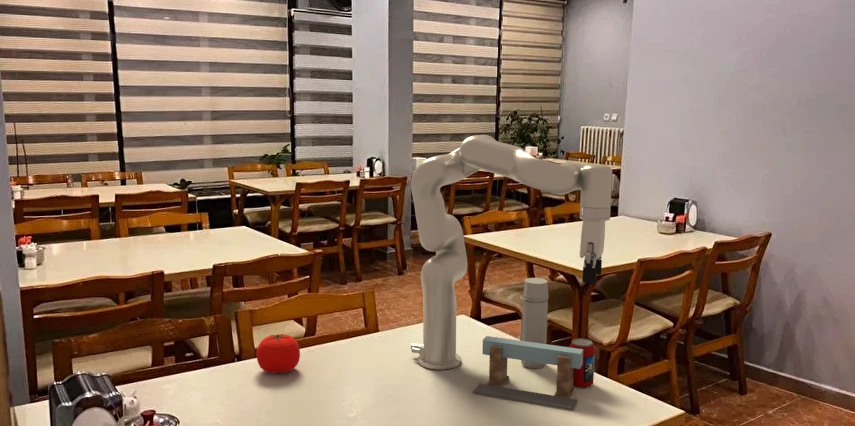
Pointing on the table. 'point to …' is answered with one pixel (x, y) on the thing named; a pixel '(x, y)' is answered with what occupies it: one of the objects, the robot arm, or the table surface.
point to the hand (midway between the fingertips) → (591, 278)
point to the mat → (526, 396)
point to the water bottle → (534, 315)
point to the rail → (533, 351)
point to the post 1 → (497, 367)
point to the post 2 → (564, 377)
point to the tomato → (278, 353)
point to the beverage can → (584, 363)
